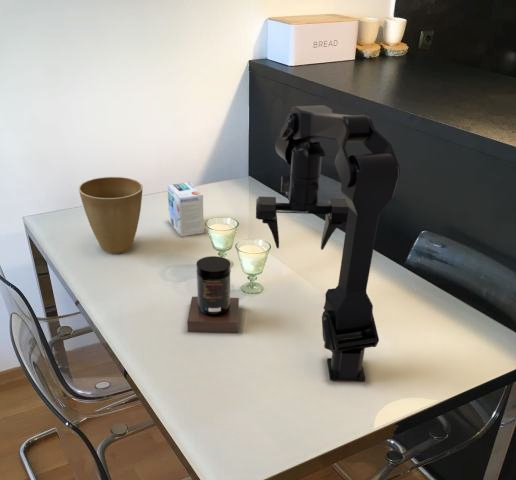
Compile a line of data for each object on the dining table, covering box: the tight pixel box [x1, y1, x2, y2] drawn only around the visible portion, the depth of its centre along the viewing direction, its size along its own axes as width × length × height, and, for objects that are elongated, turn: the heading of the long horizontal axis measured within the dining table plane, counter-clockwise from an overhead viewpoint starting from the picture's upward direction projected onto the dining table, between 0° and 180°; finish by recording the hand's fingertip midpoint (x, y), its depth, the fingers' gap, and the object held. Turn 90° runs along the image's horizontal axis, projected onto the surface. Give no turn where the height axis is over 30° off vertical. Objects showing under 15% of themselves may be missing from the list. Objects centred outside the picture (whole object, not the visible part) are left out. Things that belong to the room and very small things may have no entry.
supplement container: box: [195, 255, 232, 316], centre depth 120 cm, size 7×7×10 cm
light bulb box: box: [167, 181, 205, 237], centre depth 160 cm, size 11×7×11 cm, turn 25°
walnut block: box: [186, 296, 240, 334], centre depth 124 cm, size 10×10×2 cm
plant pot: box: [78, 176, 144, 255], centre depth 147 cm, size 15×15×16 cm
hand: (299, 248), depth 124 cm, fingers open, 9 cm apart
